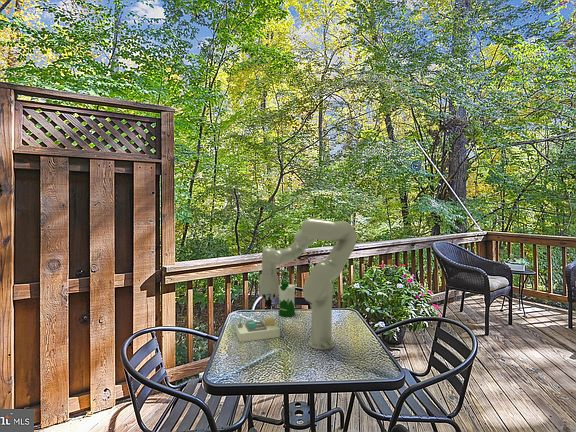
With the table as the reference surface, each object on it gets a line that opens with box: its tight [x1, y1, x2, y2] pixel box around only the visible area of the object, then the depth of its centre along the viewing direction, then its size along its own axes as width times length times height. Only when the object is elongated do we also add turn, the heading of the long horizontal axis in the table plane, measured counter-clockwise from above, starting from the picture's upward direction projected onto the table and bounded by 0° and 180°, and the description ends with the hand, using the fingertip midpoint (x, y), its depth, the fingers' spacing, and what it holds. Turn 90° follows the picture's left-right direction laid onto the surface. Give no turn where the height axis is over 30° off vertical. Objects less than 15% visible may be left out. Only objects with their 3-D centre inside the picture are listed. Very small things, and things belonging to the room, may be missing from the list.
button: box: [264, 317, 276, 326], centre depth 170 cm, size 4×4×5 cm
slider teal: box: [248, 321, 255, 329], centre depth 162 cm, size 3×3×4 cm
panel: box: [235, 316, 281, 343], centre depth 165 cm, size 12×20×10 cm, turn 108°
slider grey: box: [245, 318, 254, 326], centre depth 167 cm, size 3×3×4 cm
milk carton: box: [278, 281, 296, 318], centre depth 197 cm, size 9×9×20 cm
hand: (268, 306), depth 170 cm, fingers closed
